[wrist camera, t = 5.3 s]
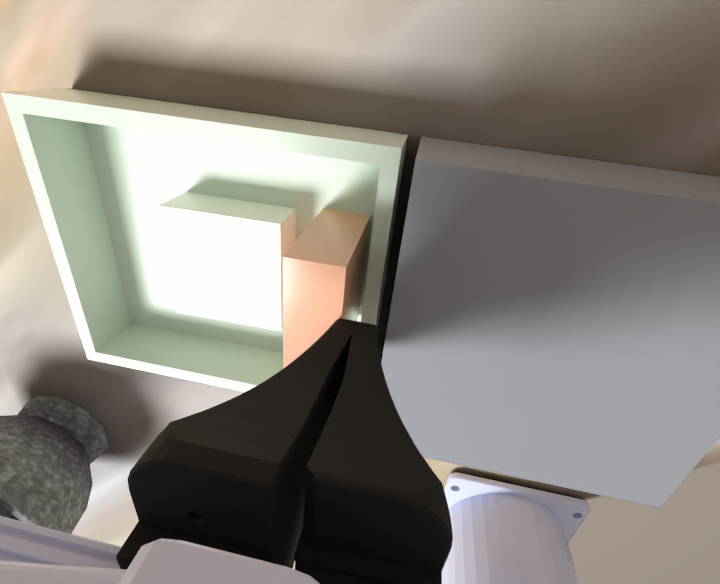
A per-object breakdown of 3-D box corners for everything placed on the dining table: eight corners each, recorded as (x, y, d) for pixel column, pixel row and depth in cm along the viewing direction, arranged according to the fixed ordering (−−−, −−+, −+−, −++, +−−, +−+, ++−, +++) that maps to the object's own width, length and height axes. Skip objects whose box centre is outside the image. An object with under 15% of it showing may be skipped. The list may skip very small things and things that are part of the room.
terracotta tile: (335, 388, 14) (283, 377, 15) (359, 315, 19) (318, 308, 19) (346, 267, 12) (282, 256, 12) (370, 214, 16) (323, 207, 16)
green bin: (371, 373, 21) (361, 416, 18) (127, 325, 22) (87, 359, 20) (408, 134, 15) (401, 148, 12) (70, 88, 16) (1, 92, 14)
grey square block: (616, 422, 20) (660, 508, 16) (380, 375, 21) (367, 445, 17) (766, 183, 14) (895, 228, 10) (421, 136, 15) (415, 160, 11)
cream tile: (176, 311, 18) (199, 290, 20) (281, 331, 17) (295, 307, 19) (157, 205, 15) (185, 191, 17) (280, 224, 15) (296, 208, 17)
